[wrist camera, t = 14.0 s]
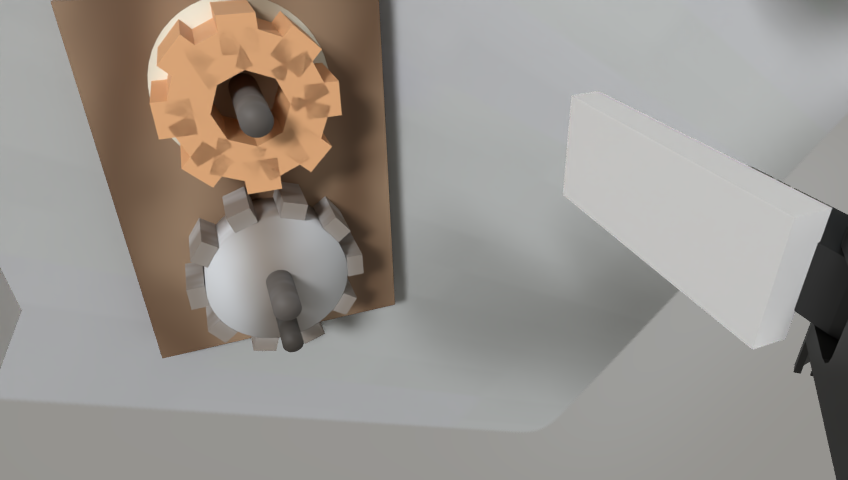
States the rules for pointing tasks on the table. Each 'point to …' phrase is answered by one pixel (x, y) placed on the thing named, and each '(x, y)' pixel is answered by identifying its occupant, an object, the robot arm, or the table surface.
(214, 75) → the loose gear
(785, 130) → the table surface
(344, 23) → the gear board
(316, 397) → the table surface
